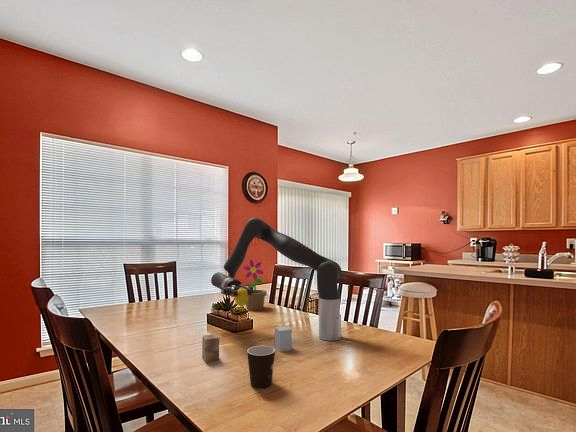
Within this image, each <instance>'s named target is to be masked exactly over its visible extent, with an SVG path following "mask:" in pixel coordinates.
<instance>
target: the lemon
mask: <svg viewBox="0 0 576 432" xmlns="http://www.w3.org/2000/svg"><path fill="white" fill-rule="evenodd" d="M237 292H238V296H236V297H234V300H235V303H236V304H237V305H238V306H240V308H243V307H244V306H246V303H247V302H248V299H249V295H248V292H247V290H246V289H244V288H243V287H241V288H240V289H238V290H237Z"/></svg>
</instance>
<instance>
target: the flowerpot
mask: <svg viewBox="0 0 576 432" xmlns="http://www.w3.org/2000/svg"><path fill="white" fill-rule="evenodd" d="M261 265H262V262H261V261H260V262H257V263H256V264H255V262H254V261H253V260H252V259H249V266H248V265H244V266H243V269H244V270H245V271H248V272H247V273H246V275H245V278H250V277H251V276H252V278H253V280H254V282H253V283H249V284H248V285H247V287H248V286H249V285H252V286H253V293H252V295H249V299H248V302H247V303H246V304H245V306H246V307H245V308H246V310H247V309H248V310H247V311H250V310H251V312H253V311H254V312H256V311H257V312H258V310H259V311H262V310H264V306H265V299H266V298H265V297H266V296H267V290H264V289H257V288H256V287H257V284H258V285H259V284H263V283H264V280H263V279H262V278H259V277H258V275H259V274H260V275H263V274H264V271H263V270H262V269H258V268H260V266H261ZM257 274H258V275H257ZM256 283H257V284H256Z"/></svg>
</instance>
